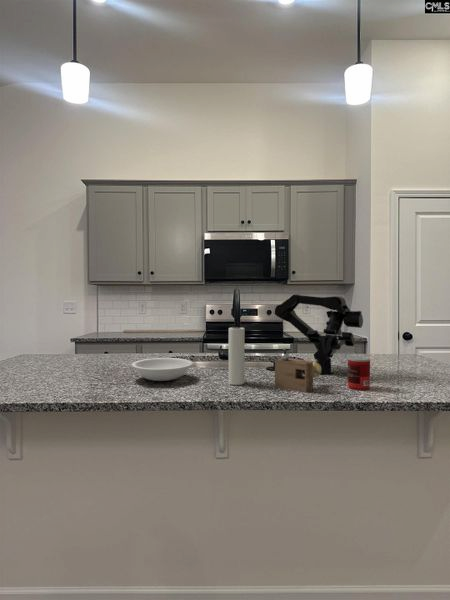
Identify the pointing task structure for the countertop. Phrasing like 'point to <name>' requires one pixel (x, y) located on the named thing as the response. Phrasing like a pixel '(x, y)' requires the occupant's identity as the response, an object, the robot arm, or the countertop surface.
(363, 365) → the canned food
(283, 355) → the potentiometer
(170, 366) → the soup bowl
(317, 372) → the knob
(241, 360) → the paper towel roll
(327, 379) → the countertop surface
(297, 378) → the mount
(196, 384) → the countertop surface
